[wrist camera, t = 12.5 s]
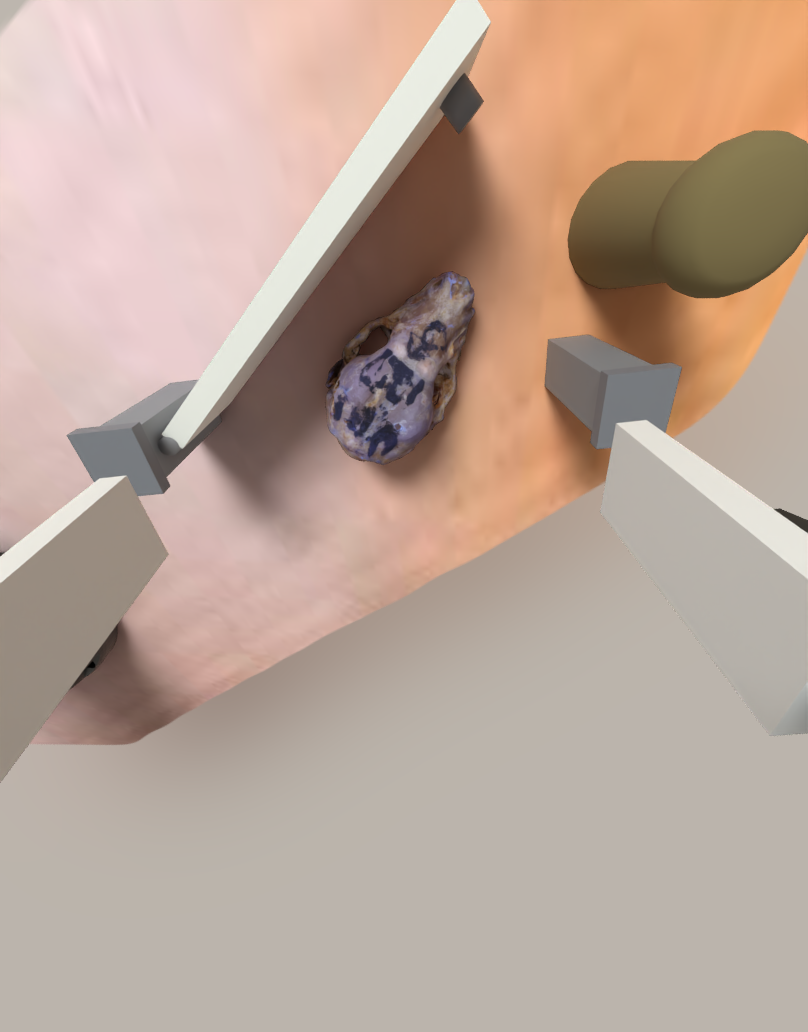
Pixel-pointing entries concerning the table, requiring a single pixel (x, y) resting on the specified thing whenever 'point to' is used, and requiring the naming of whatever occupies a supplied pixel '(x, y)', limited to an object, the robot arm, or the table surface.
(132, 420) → the hinge post
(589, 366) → the post
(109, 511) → the robot arm
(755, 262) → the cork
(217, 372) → the gate
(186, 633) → the table surface
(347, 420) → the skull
